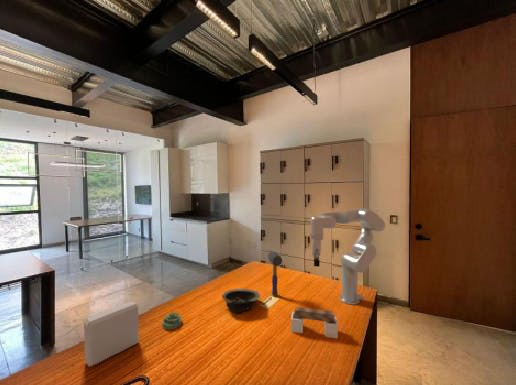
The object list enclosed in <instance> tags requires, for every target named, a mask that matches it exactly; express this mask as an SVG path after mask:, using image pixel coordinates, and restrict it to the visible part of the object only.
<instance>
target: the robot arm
mask: <svg viewBox="0 0 516 385" xmlns="http://www.w3.org/2000/svg"><path fill="white" fill-rule="evenodd" d="M356 222H359V223H360V229H361V230H360V234H359V236H358V237H357V238H356V240H355V241H354V242H353V244H352V246H351V251H352V253H351V252H345V253H343V254H342V255H341V258H340V263H341V267H342V270H341V272H342V274H341V275H342V278H341V280H342V282H341V288H342V289H341V294H339V300H340V301H341V302H342V303H344V304H347V305H358V304H359V303H360V302H361V301H360V300H366V296H364V295H362V294H358V280H359V278H358V273H361V274H362V273H364V272H365V271H367V269H368V268H369V266H371V264H372V263H373V260H374V259H375V258H376V256H377V248H376V246H375V245H373V244H372V242H373V241H374V233H373V231H374V232H382V231H384V229H385V227H386V222H385V220H384V219H383V218H381V217H380V216H379V215H378V214H377V213H376V212H374V210H372V209H369V208H363V207H362V208H361V207H356V208H352V209H351V208H350V209H348V210H342V211H334V212H333V211H331V212H325V213H321V214H319V215H317V216H312V217H311V218H310V240H311V255H312V256H313V267H318V268H319V267H320V257H321V253H322V252H321V250H322V240H324V229H334V228H335V227H336V226H337V224H340V225H347V224H352V223H356Z"/></svg>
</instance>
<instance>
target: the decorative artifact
mask: <svg viewBox="0 0 516 385" xmlns="http://www.w3.org/2000/svg"><path fill="white" fill-rule="evenodd" d="M181 325H182V316H181V315H179V313H177V312H171V313H169V314H168V315H167V316H164V318H163V320H162V328H163V329H164V330H166V329H167V331H171V329H172V330H175V328H176V329H177V327H178V328H180V327H181Z"/></svg>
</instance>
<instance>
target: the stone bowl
mask: <svg viewBox="0 0 516 385" xmlns="http://www.w3.org/2000/svg"><path fill="white" fill-rule="evenodd" d="M221 297H222V298H223V300H224V301H225V302H226V306H227V308H228V311H230V312H232V313H242V312H243V311H246V310H252V309H254V306H255V303H256V301H257V300H259V299H261V294H260V293H259V292H258V290H254V289H249V288H235V289H229V290H227V291H225V292H224V293H223V294H221Z"/></svg>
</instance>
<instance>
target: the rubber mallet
mask: <svg viewBox="0 0 516 385" xmlns="http://www.w3.org/2000/svg"><path fill="white" fill-rule="evenodd" d="M267 258H268V261H270V263H271V264H272V276H271V277H272V278H271V280H272V281H271V283H272V288H271V290H272V291H271V294H272V296H273V297H277V295H278V275H277V274H278V273H277V272H278V270H277V269H278V268H277V267H278V266H279V267H280V265H281V264H283V259H282V257H281V256H280V254H279V253H277V252H276V251H274V250H273V251H272V250H271V251H269V253H268V255H267Z"/></svg>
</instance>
